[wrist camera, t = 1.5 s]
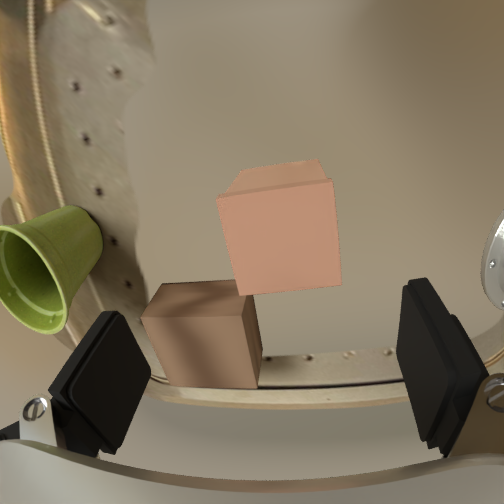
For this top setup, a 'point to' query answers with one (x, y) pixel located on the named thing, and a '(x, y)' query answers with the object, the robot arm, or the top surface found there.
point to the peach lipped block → (281, 228)
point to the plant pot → (47, 265)
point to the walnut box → (205, 334)
